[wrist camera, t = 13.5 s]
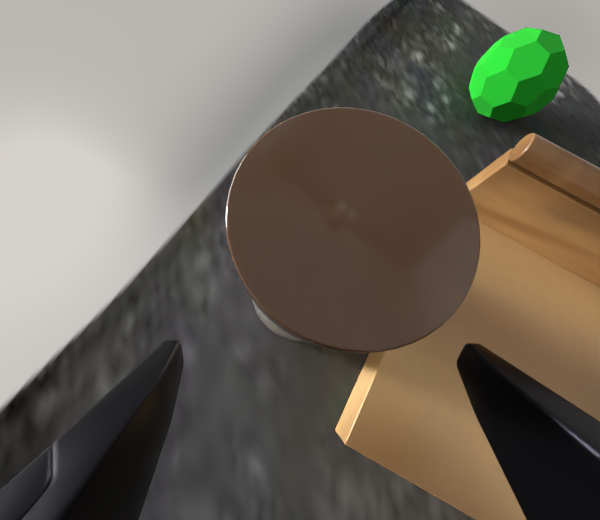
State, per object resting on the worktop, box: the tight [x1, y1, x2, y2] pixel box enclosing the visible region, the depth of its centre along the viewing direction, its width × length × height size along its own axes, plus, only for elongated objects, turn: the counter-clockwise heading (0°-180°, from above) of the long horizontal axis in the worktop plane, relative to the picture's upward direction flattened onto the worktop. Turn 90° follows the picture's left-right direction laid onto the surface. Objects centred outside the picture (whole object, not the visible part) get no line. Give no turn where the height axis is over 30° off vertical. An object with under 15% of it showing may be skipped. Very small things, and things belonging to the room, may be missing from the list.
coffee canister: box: [226, 107, 480, 353], centre depth 11 cm, size 6×6×10 cm
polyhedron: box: [469, 28, 569, 122], centre depth 19 cm, size 5×5×5 cm
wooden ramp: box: [335, 133, 600, 520], centre depth 13 cm, size 14×14×7 cm
